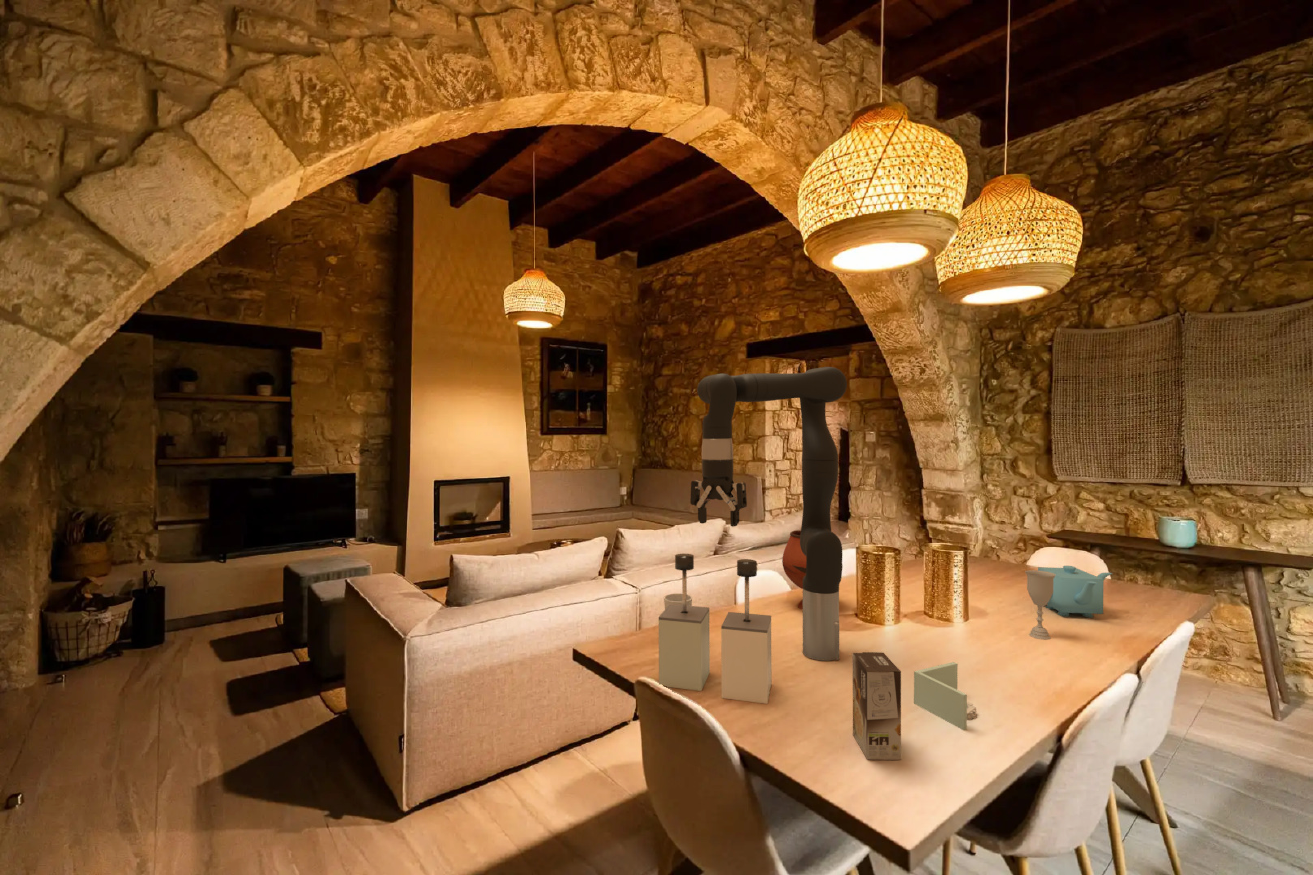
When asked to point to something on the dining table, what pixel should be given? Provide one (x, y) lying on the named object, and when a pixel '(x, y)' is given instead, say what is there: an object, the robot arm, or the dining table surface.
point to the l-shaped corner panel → (943, 694)
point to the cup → (676, 599)
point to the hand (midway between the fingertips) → (718, 524)
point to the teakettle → (1076, 591)
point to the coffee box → (877, 705)
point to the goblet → (795, 561)
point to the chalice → (1040, 597)
